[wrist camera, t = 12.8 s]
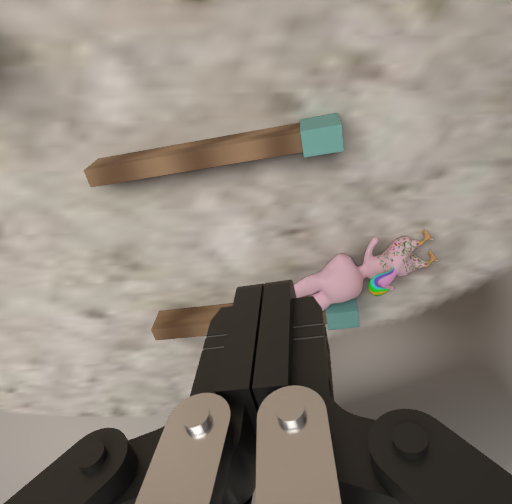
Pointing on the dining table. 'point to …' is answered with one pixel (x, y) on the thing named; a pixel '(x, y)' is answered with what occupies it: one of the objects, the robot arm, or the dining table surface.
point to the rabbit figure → (363, 272)
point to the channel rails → (217, 154)
